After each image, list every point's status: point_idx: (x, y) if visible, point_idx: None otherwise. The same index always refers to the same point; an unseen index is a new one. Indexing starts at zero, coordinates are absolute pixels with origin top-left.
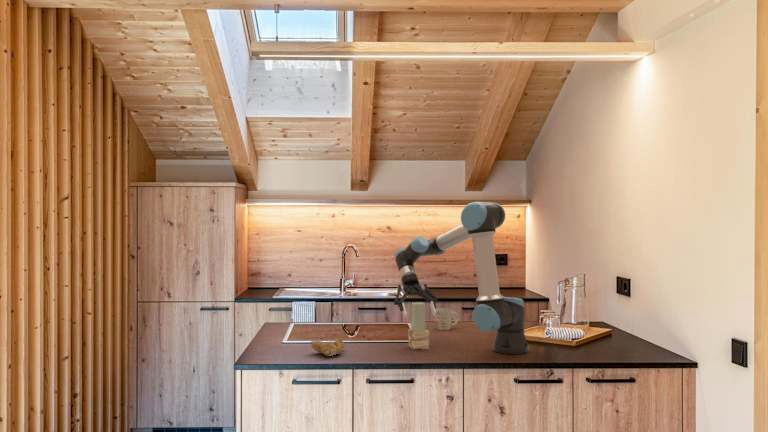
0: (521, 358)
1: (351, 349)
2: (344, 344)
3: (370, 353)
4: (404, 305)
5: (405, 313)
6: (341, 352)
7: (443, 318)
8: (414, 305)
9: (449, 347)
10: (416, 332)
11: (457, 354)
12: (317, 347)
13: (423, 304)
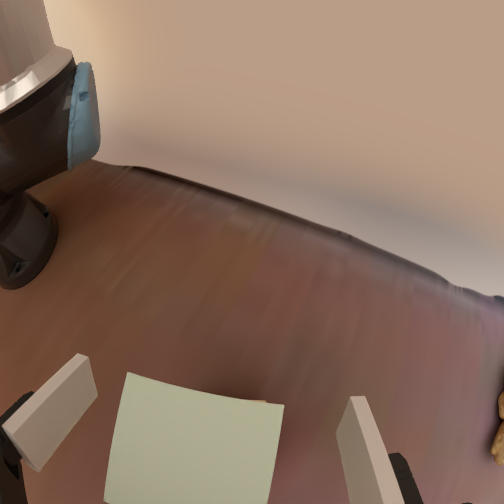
0: (69, 184)
1: (463, 465)
2: (496, 445)
3: (433, 400)
4: (378, 476)
5: (365, 404)
6: (500, 397)
7: None
8: (280, 405)
9: (108, 375)
10: (254, 400)
11: (151, 271)
12: None
13: (152, 380)
